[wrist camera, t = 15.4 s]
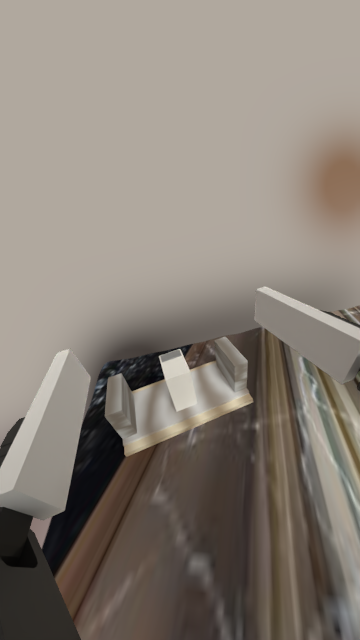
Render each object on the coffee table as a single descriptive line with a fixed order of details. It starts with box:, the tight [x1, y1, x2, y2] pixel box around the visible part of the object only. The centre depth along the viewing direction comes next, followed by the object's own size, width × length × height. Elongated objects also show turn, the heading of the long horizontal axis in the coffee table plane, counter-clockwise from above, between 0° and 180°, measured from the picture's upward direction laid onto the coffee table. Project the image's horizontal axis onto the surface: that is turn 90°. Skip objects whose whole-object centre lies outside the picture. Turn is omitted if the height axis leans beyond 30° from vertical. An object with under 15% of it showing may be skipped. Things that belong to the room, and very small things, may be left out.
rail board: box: [105, 337, 253, 457], centre depth 39 cm, size 29×14×11 cm, turn 107°
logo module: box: [159, 349, 197, 412], centre depth 38 cm, size 5×7×11 cm
